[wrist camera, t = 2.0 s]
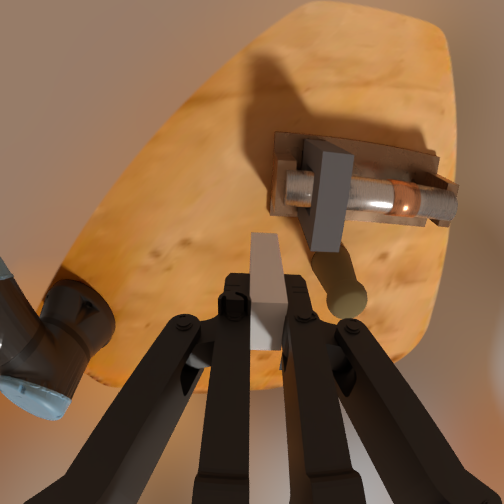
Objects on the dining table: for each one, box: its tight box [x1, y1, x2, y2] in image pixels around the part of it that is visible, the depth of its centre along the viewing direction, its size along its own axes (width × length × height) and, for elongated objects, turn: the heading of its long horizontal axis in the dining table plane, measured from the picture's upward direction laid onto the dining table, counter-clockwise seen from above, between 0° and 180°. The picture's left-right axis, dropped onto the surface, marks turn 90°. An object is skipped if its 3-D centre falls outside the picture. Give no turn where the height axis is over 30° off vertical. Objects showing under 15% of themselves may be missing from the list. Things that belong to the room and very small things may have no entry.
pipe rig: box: [270, 132, 459, 227], centre depth 34 cm, size 24×11×9 cm, turn 87°
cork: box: [311, 246, 367, 319], centre depth 38 cm, size 6×6×11 cm
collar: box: [297, 139, 354, 252], centre depth 31 cm, size 3×10×10 cm, turn 178°
